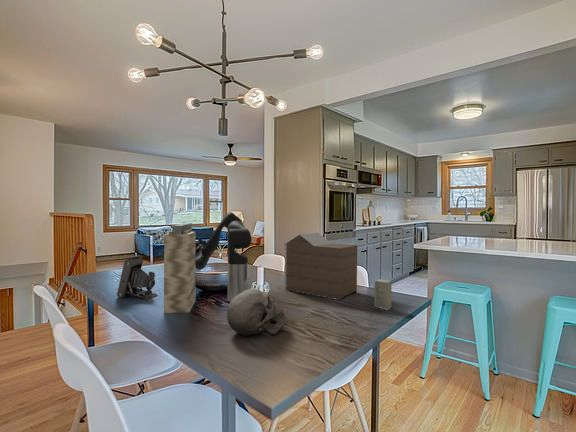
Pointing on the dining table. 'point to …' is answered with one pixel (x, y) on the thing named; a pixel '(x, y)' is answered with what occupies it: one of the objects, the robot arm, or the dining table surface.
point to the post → (179, 271)
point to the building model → (320, 266)
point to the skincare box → (383, 293)
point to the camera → (135, 279)
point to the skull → (255, 313)
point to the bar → (181, 228)
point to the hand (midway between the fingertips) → (190, 239)
